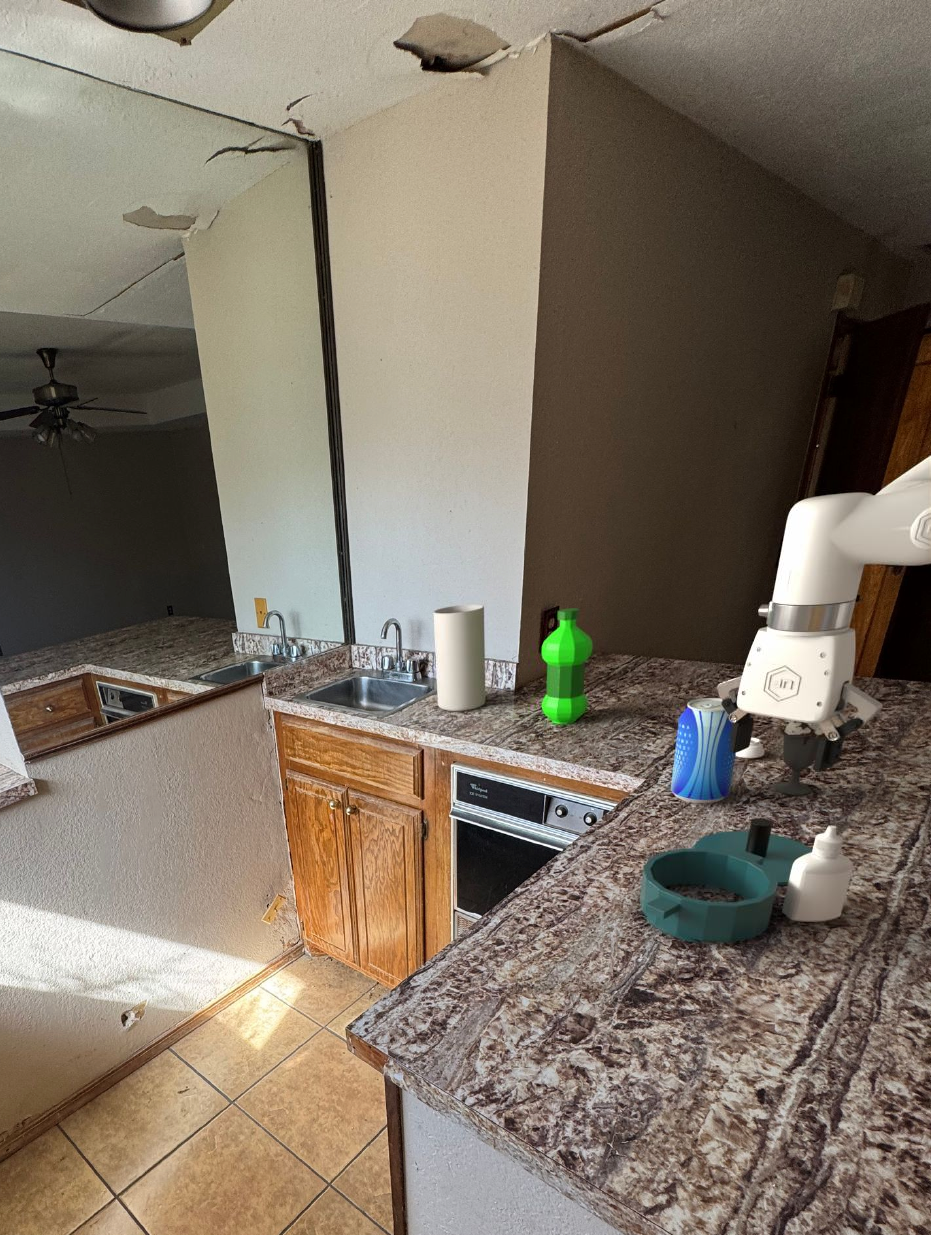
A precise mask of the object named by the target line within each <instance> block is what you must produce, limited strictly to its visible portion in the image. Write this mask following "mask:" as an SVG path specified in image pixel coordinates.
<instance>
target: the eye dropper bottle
mask: <svg viewBox="0 0 931 1235" xmlns="http://www.w3.org/2000/svg"><path fill="white" fill-rule="evenodd" d="M843 843H844V839H843V838H842V837H841V836H840V835H838V834H837V826H835V825H828V826H827V828H826V830H825V831H824V832H822V833H817V834H816V835H815V837H814V843H813V847H812V852H811V853H808V854H806V855H803V856H801V857H800V858H798V859H797V860H795V862H794V863H793V866H792V870H791V873H790V878H789V882H788V885H786V892H785V896H784V900H783V903H782V904H783V905H782V909H781V912H782V913H783V914H784V915H785V917H787V918H788V919H790V920H792V921H797V922H808V923H809V922H810V923H812V922H813V923H814V922H826V921H831V920H834V919H838V918H839V917H841V915H842V912H843V908H844V904H845V901H846V897H847V893H848V889H849V885H850V883H851V878H852V874H853V869H854V863H853V862H852V860H851V859H849V858H848V857H847V856H845V855H843V854H841V851H842V848H843Z"/></svg>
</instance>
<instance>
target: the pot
mask: <svg viewBox="0 0 931 1235" xmlns="http://www.w3.org/2000/svg"><path fill="white" fill-rule="evenodd" d="M763 860H764V858H763V857H760V856H757V855H754V854H751V853H748V852H745V851H744V852H742V853H740V854H738V855H736V854H733V853H728V852H722V851H716V850H710V849H694V848H678V849H672V850H665V851H662V852H660V853H658V854H656V855H654V856H652V857H650V858H648V859H647V861H646V863H645V864H644V866H643V868H642V877H641V884H640V885H641V886H640V895H639V904H640V908H641V911H642V913H643V915H645V916H644V919H645V920H646V921H647V922H648V923H649V924H650V925H651V926H653V927H654V928H656V929H657V930H659V931H661V932H662V933H665V934H666V935H669V936H671V937H674V938H677V939H679V940H682V941H685V942H689V943H693V944H699V945H702V942H710V943H711V942H712V943H713V942H715V943H735V942H736V943H737V942H741V941H746V940H752V939H754V938H755V937H758V936H759V935H761V934H762V933H764V932H766V931H767V930H768V927H769V923H770V920H771V916H772V911H773V906H774V903H775V898H776V892H777V888H778V885H777V884H778V883H777V881H776V879H775V878H774V876H773V875H772V873H771V872H770V871H769V870H768V869H766V868H764V867H763V866H761V865H762V864H763ZM678 885H699V886H701V885H702V886H707V887H713V888H718V889H722V890H725V891H727V892H729V893H733V894H735V895H738V896H740V897H742V898H744V899H745V900H739V901H733V902H732V901H731V902H729V901H728V902H727V901H708V900H702V899H698V898H693V897H688V896H684V895H682V894H679V893H677V892H675V891H672V890H670V889H668V888H666V887H672V886H678ZM699 941H700V942H699Z"/></svg>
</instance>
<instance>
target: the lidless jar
mask: <svg viewBox="0 0 931 1235" xmlns="http://www.w3.org/2000/svg"><path fill="white" fill-rule="evenodd" d="M763 756H765V748H764V746H763V743H761V739H759V738H757V737H751V741H750V746H749V747H748V748H746V749H744V750H742V751H740V752H737V753H736V756H735V757H738V758H742V759H758V758H761V757H763Z"/></svg>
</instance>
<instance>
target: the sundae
mask: <svg viewBox="0 0 931 1235" xmlns="http://www.w3.org/2000/svg"><path fill="white" fill-rule="evenodd" d="M779 732H780V734H782V735H783V747H782V748H783V751H782V755H783V756H782V757H783V758H782V759H783V763H784V764H785V765H786V767H788V768H789V769H790V770H791V775H790V777H789V780H788V781H786V782H780V783H779V782H778V783H777V784H775V785H774V787H773V789H774V790H775V791H776V792H778V793H782V794H783V795H784V794H785V795H789V796H790V795H791V796H804V795H808V794H810V793H811V792H812V788H811V787H810V786H808V785H806V784H804V783H801V782H800V776H801V772H802V771H804V770H805V769H808V768H809V767H811V766H812V765H814V763H815V758H816V754H817V750H818V746H819V742H820V740H821V739H823V738H825V737H826V735H825V734H824V732H823V731H822V729H821V727H820V726H819V724H818V723H804V722H797V721H790V722H789V723H788V724H787V725H785V726H781V727H779Z"/></svg>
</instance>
